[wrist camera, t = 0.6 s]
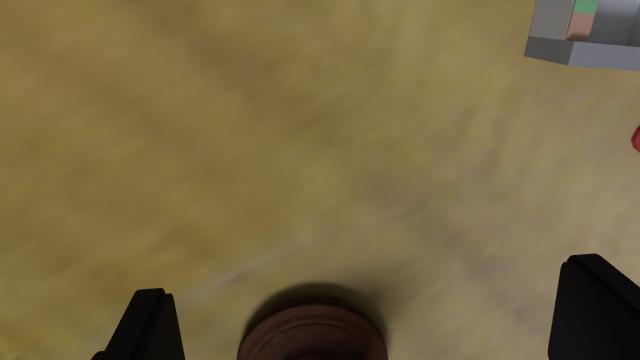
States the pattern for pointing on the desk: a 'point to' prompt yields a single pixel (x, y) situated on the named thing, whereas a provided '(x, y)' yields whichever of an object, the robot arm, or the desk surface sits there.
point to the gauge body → (586, 33)
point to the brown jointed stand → (313, 333)
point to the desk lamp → (636, 139)
